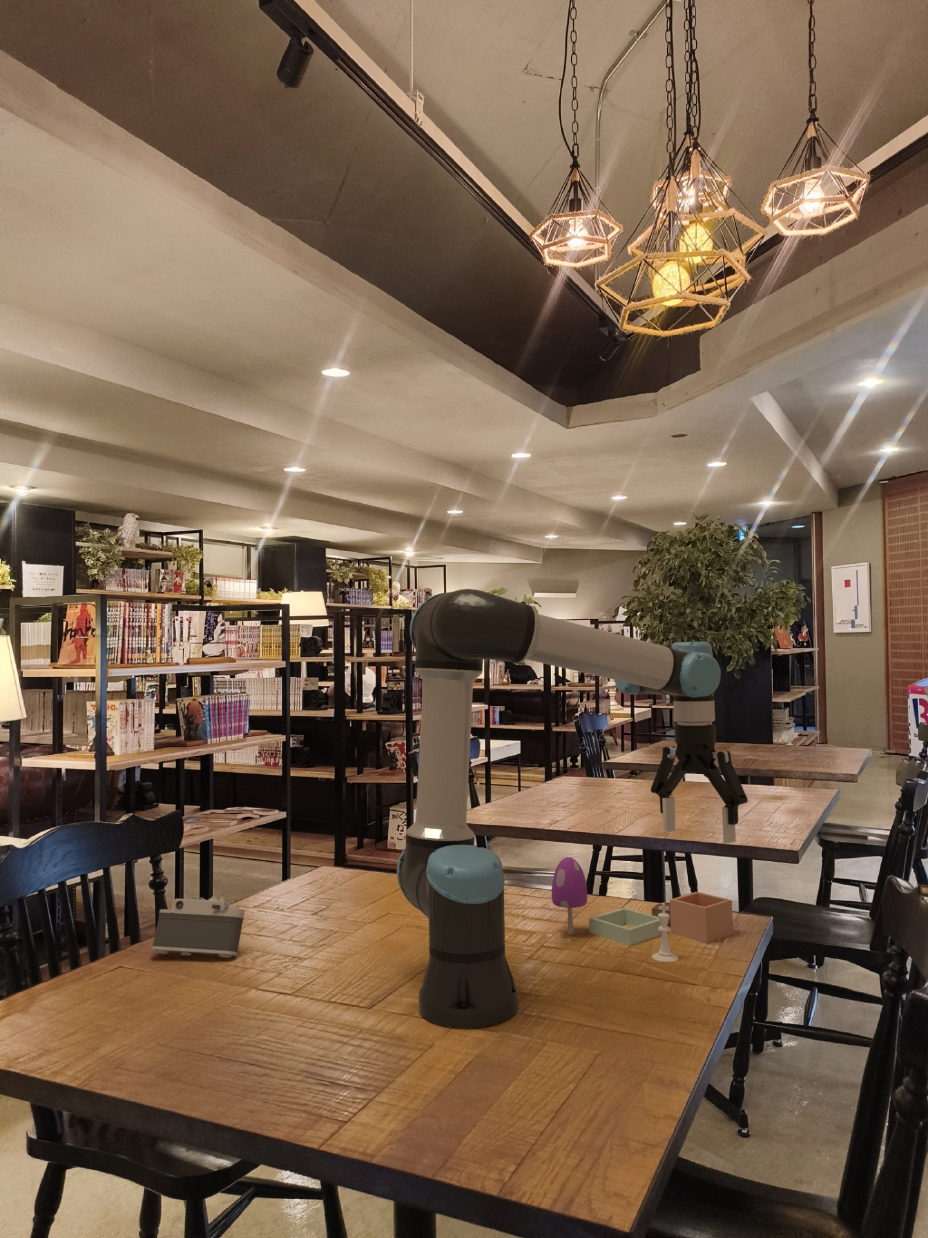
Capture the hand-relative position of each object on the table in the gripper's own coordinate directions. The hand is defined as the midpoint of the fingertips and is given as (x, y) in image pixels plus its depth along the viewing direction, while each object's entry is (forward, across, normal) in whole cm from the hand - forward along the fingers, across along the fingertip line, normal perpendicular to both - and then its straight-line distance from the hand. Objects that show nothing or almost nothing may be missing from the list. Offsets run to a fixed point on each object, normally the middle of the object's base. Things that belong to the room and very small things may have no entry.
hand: (698, 837), depth 164 cm
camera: (+19, +56, +74) cm, 95 cm away
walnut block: (+19, +8, 0) cm, 21 cm away
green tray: (+19, +10, +10) cm, 23 cm away
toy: (+19, +16, +18) cm, 31 cm away
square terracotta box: (+19, 0, 0) cm, 19 cm away
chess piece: (+19, -4, +15) cm, 24 cm away
